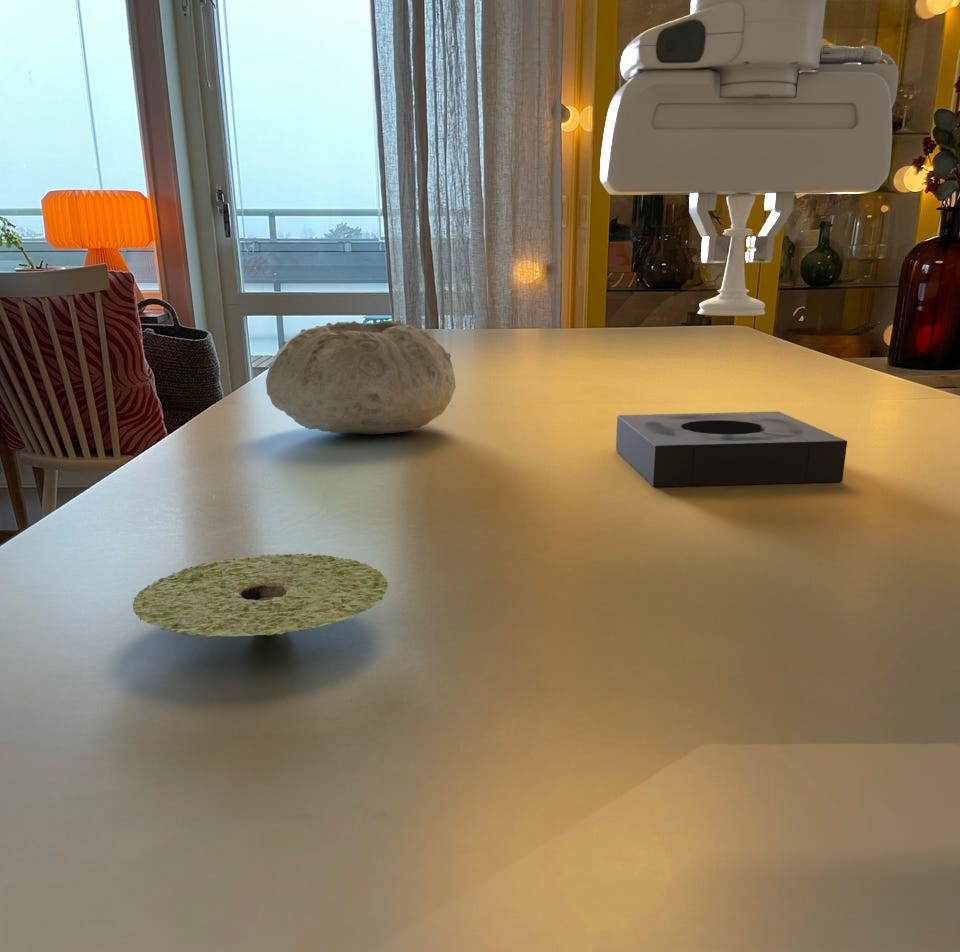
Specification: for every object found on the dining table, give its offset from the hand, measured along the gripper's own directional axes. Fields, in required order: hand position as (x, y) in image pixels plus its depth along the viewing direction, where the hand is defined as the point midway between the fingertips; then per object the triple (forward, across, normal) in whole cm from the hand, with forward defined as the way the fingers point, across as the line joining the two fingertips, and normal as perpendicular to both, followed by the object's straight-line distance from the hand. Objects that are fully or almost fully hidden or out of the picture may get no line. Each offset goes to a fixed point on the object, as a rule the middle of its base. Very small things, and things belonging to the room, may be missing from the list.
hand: (735, 262), depth 71 cm
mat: (+15, +31, +33) cm, 48 cm away
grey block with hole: (+15, 0, 0) cm, 15 cm away
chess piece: (+4, 0, 0) cm, 4 cm away
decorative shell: (+15, +29, -20) cm, 38 cm away
